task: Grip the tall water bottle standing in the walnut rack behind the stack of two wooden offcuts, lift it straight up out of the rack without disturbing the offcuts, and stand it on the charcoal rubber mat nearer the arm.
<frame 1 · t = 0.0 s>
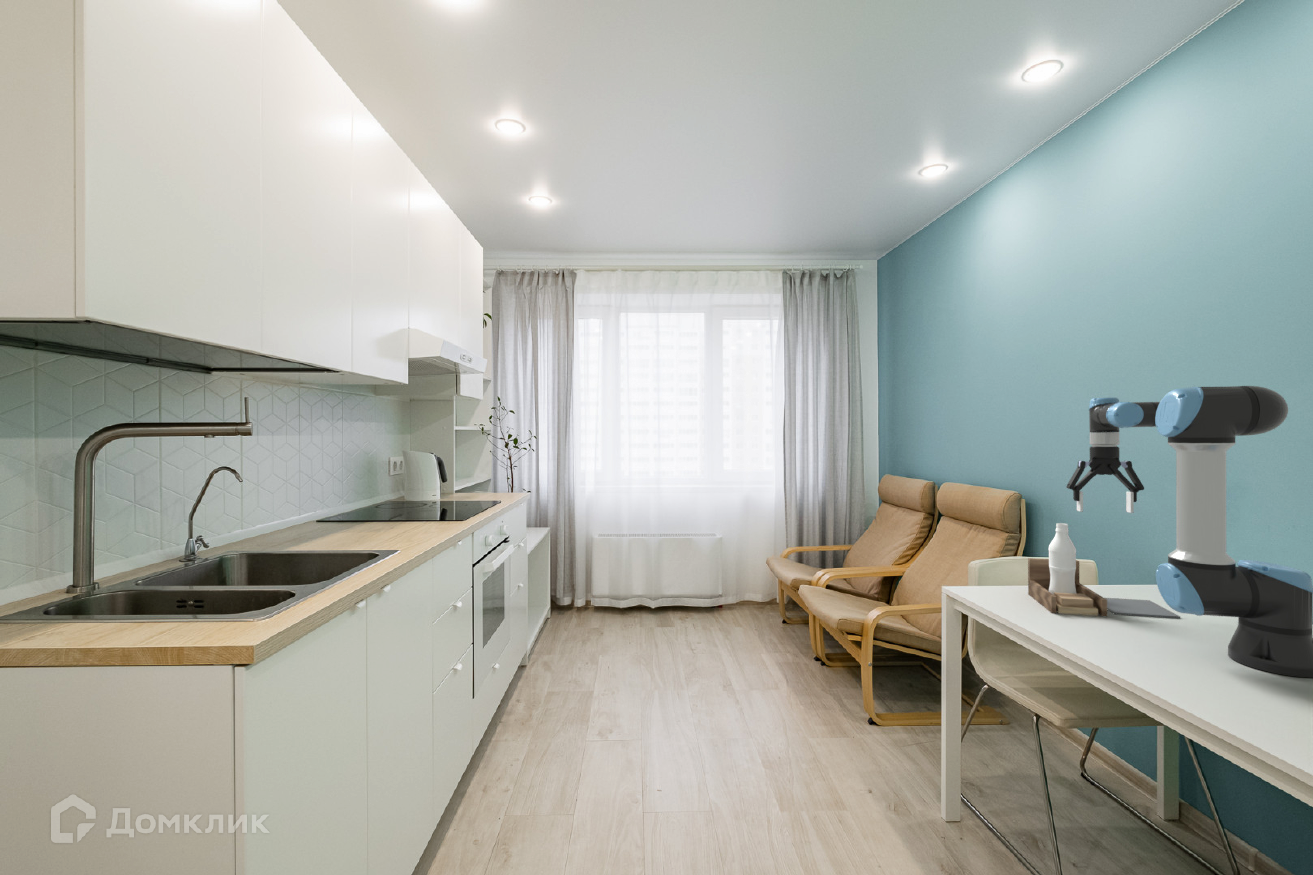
hand: (1104, 511, 182), 28 cm above the table, tool pointing down, fingers open, 13 cm apart
offcut lower: (1073, 612, 171), on the table, touching offcut upper
offcut upper: (1073, 604, 171), point 2 cm above the table, touching offcut lower
rack: (1065, 604, 177), on the table
water bottle: (1062, 603, 178), resting in rack
mat: (1132, 607, 172), on the table
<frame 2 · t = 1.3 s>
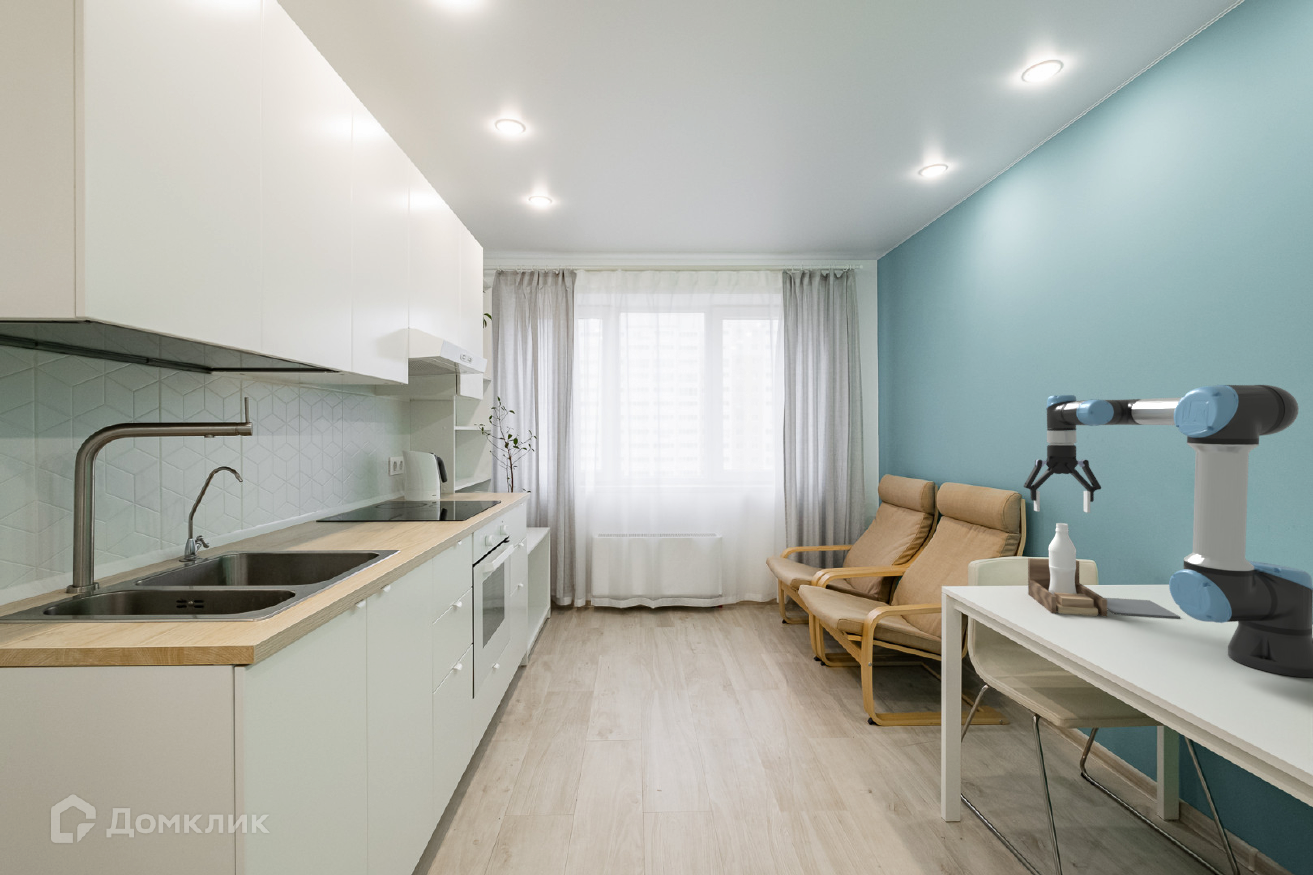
hand: (1061, 511, 178), 29 cm above the table, tool pointing down, fingers open, 13 cm apart
offcut lower: (1073, 612, 171), on the table
offcut upper: (1073, 604, 171), point 2 cm above the table
everything else where it was.
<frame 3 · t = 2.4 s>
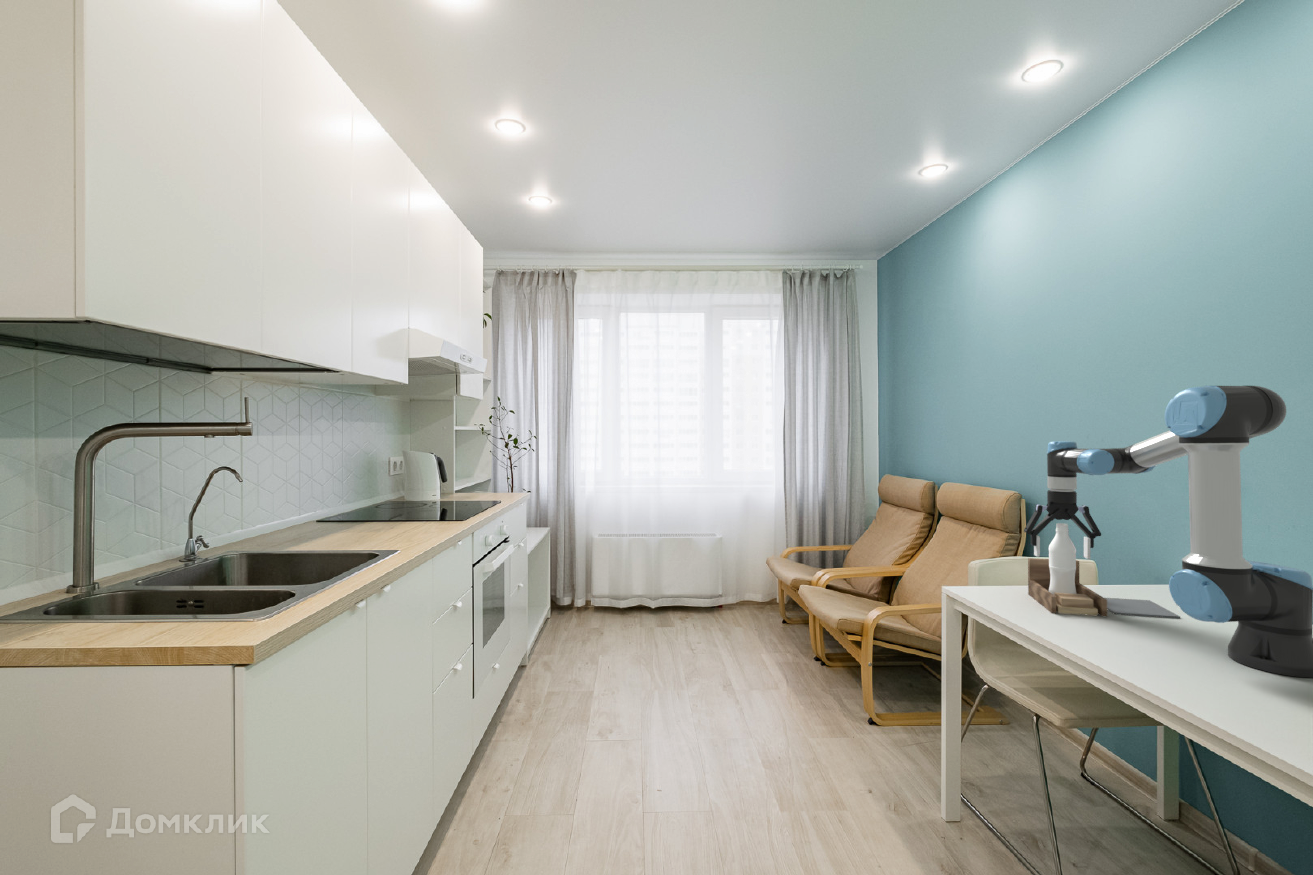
hand: (1061, 557, 178), 14 cm above the table, tool pointing down, fingers open, 13 cm apart
nothing on the table moved.
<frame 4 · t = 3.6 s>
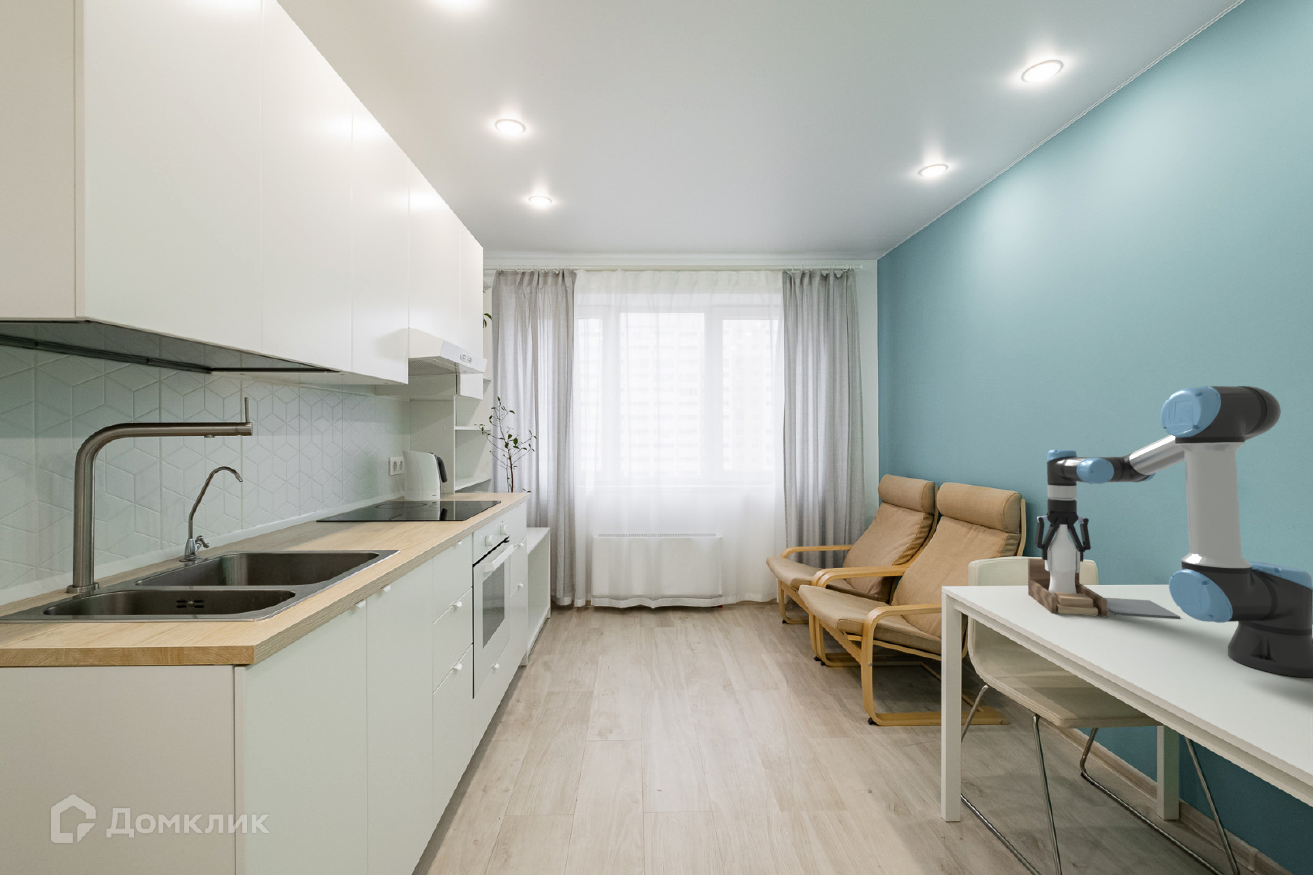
hand: (1062, 570, 178), 10 cm above the table, tool pointing down, fingers closed on water bottle, 7 cm apart
water bottle: (1062, 603, 178), resting in rack, touching gripper
everything else where it was.
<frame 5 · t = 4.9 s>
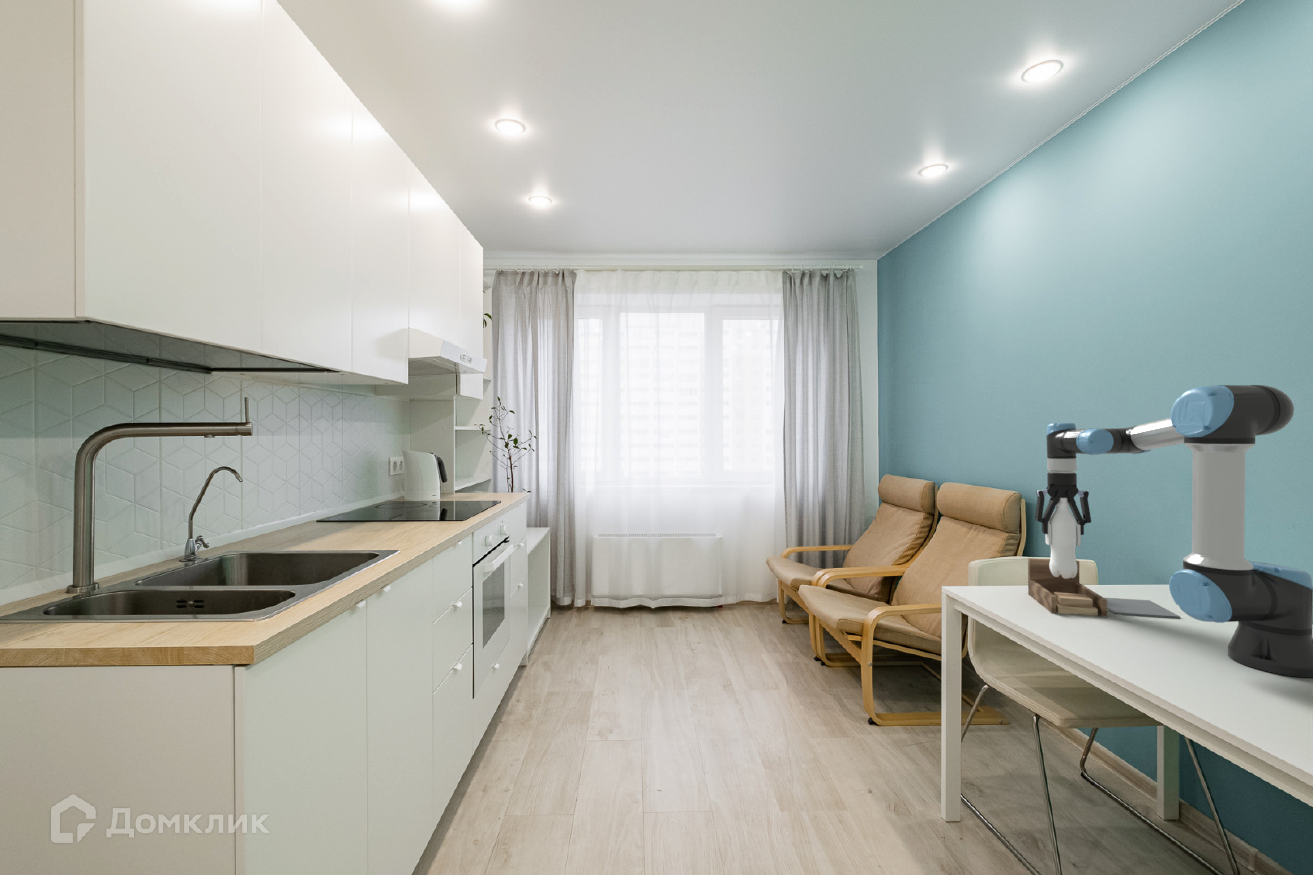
hand: (1062, 544, 178), 18 cm above the table, tool pointing down, fingers closed on water bottle, 7 cm apart
offcut lower: (1072, 612, 171), on the table, touching offcut upper
offcut upper: (1072, 604, 171), point 2 cm above the table, touching offcut lower
water bottle: (1063, 577, 178), point 8 cm above the table, touching gripper
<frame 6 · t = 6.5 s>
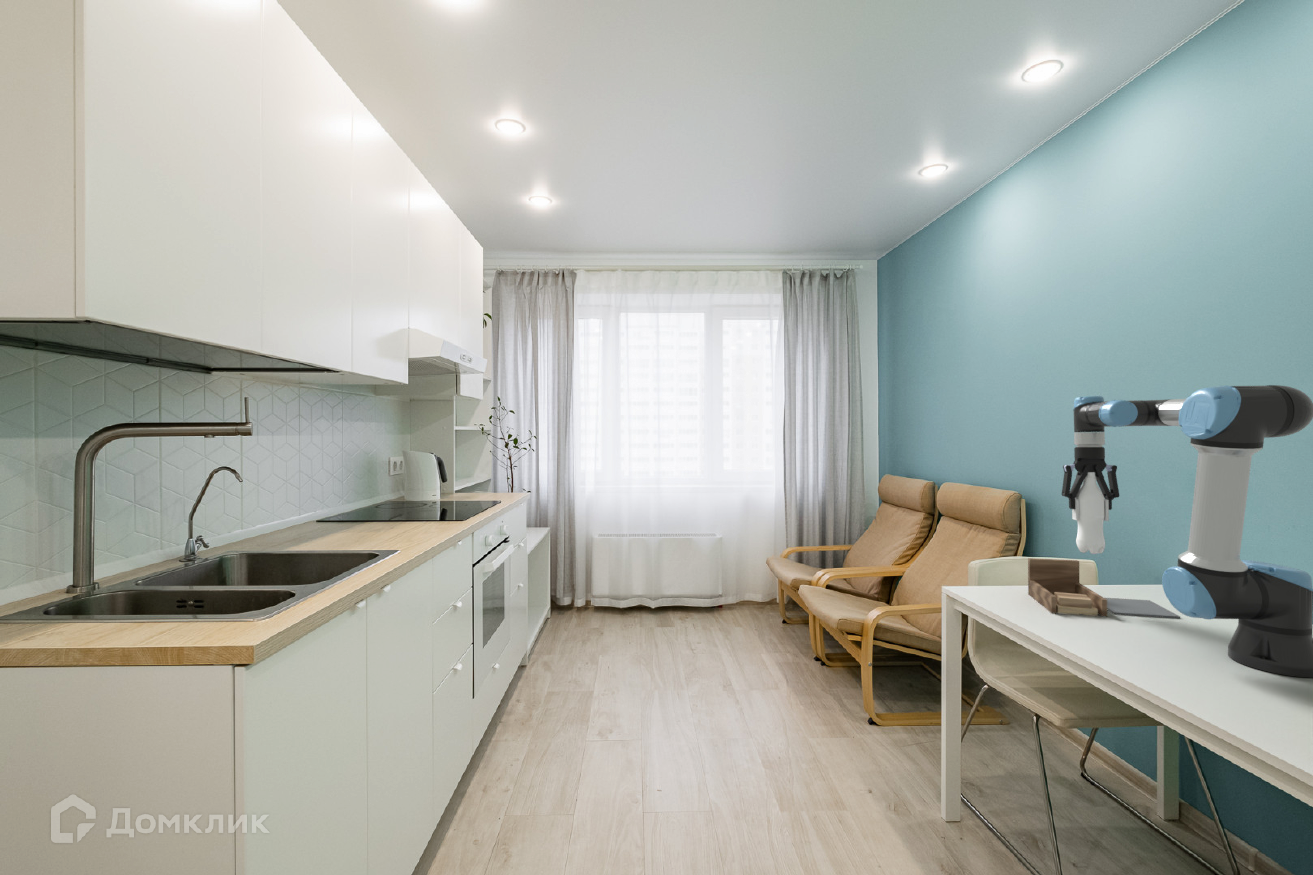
hand: (1090, 519, 175), 27 cm above the table, tool pointing down, fingers closed on water bottle, 7 cm apart
water bottle: (1090, 553, 175), point 16 cm above the table, touching gripper
everything else where it was.
when the fingers open (12 cm above the table, at t = 9.6 s): water bottle drops 1 cm, resting on mat.
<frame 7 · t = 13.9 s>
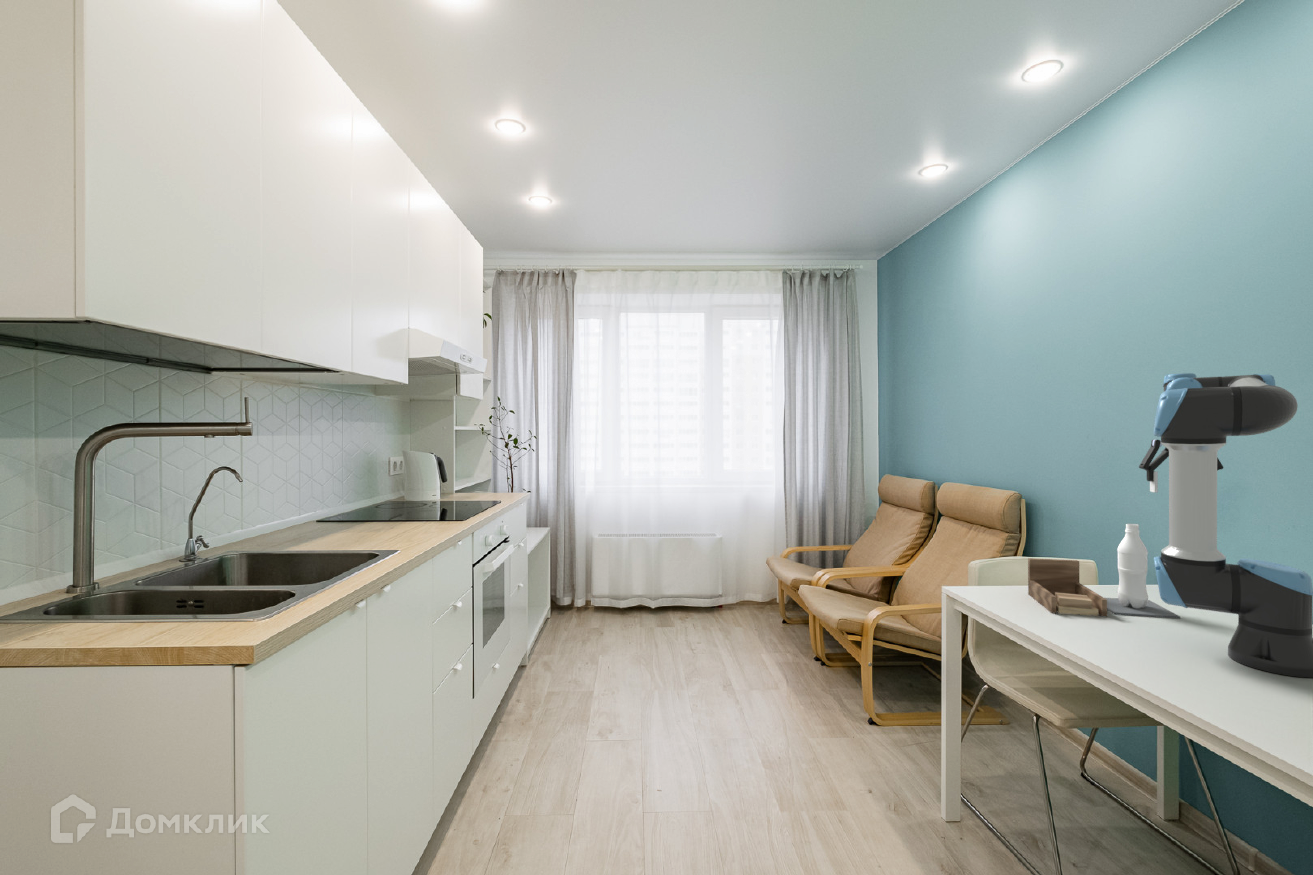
hand: (1180, 492, 175), 35 cm above the table, tool pointing down, fingers open, 13 cm apart
offcut lower: (1073, 613, 171), on the table
offcut upper: (1073, 604, 171), point 2 cm above the table
water bottle: (1132, 606, 172), resting on mat
at the end: water bottle inside the target area on the mat (0.0 cm from its centre), point 0.4 cm above the mat's base; water bottle tilted 0°; offcut upper moved 0.6 cm from its start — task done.
